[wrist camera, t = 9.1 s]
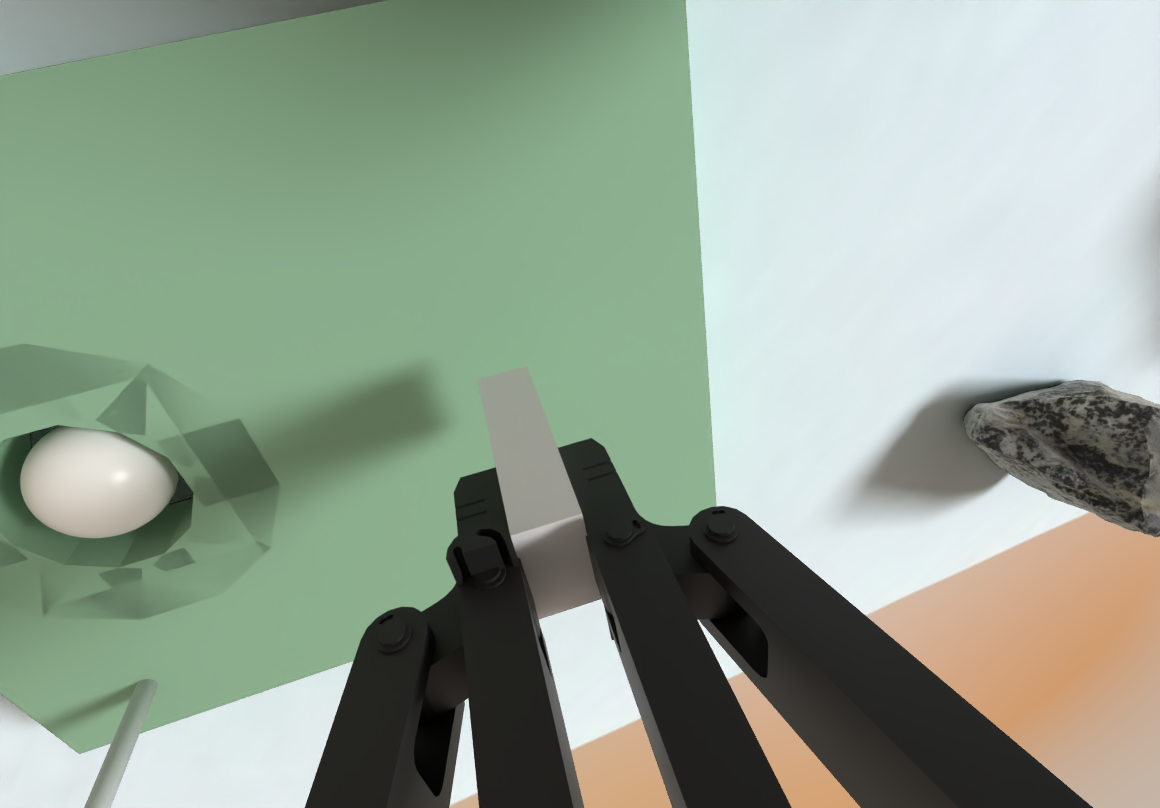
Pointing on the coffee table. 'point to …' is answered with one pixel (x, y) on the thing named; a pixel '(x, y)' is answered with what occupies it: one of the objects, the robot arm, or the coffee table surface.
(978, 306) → the coffee table surface
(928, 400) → the coffee table surface
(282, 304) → the green
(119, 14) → the coffee table surface
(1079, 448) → the stone
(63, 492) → the ball
